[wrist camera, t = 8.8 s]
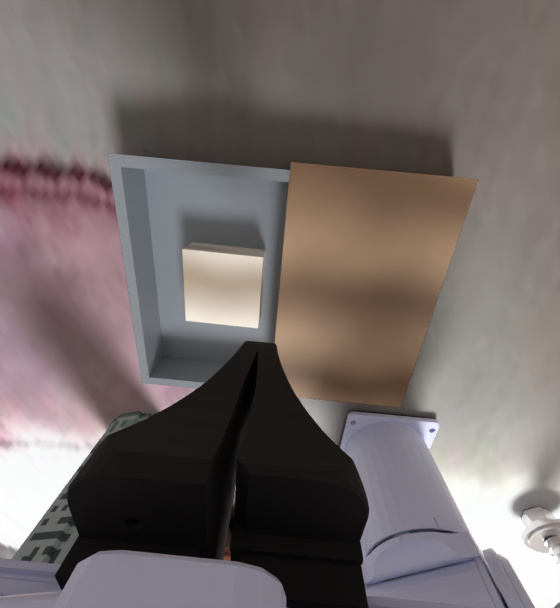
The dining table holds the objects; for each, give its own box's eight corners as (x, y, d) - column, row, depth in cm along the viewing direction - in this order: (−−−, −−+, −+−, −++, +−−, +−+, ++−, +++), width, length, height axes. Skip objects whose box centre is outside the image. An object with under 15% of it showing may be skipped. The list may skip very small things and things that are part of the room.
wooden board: (390, 385, 24) (400, 407, 22) (272, 374, 24) (270, 394, 22) (454, 178, 17) (478, 179, 15) (291, 164, 17) (290, 161, 15)
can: (129, 460, 29) (-14, 709, 16) (101, 417, 27) (-97, 666, 13) (183, 453, 28) (82, 709, 15) (160, 408, 26) (13, 663, 12)
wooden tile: (261, 315, 21) (258, 328, 19) (195, 308, 21) (185, 320, 19) (266, 249, 19) (263, 257, 17) (192, 242, 19) (182, 248, 17)
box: (272, 370, 24) (269, 395, 21) (159, 359, 24) (141, 383, 21) (290, 171, 17) (289, 169, 15) (136, 157, 18) (107, 153, 15)
